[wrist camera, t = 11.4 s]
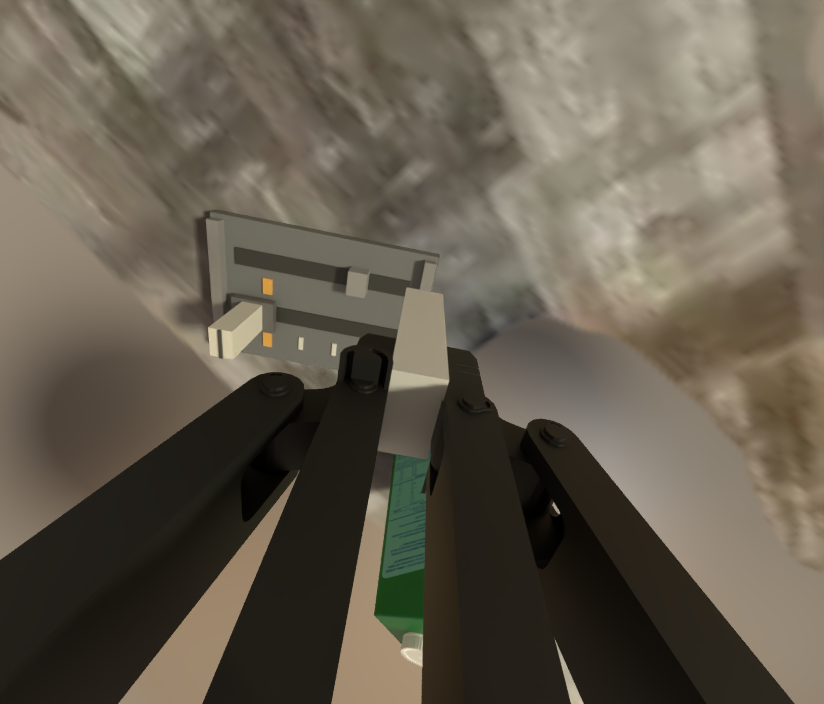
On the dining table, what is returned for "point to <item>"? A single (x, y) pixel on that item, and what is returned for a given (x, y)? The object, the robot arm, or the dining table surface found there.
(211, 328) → the fader
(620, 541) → the robot arm
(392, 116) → the dining table surface
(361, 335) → the console
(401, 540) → the milk carton
